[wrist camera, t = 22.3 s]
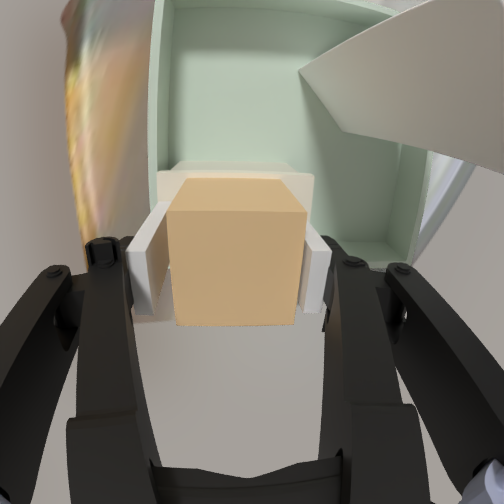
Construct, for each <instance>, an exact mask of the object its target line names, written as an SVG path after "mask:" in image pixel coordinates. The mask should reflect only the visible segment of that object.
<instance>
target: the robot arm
mask: <svg viewBox="0 0 504 504" xmlns="http://www.w3.org/2000/svg"><path fill="white" fill-rule="evenodd" d="M171 202H172V201H159V202H158V203H157V204H156V206H155V207H154V209H153V210H152V212H151V213H150V214H149V216H148V217H147V219H146V220H145V222H144V223H143V225H142V226H141V228H140V229H139V231H138V232H137V234H136V235H135V236H126V237H124V238H122V239H121V240H118V239H117V238H115V237H101V238H96V239H94V240H91V241H89V242H88V243H87V244H86V245H85V249H86V255H87V260H88V265H89V268H88V273H84V274H79V275H73V276H71V272H70V269H69V267H68V266H66V265H53V266H49V267H48V268H47V269H45V270H43V271H42V272H41V273H40V274H39V275H38V277H37V278H36V279H35V280H34V281H33V283H32V284H31V285H30V286H29V288H28V289H27V290H26V292H25V293H24V294H23V295H22V297H21V298H20V299H19V301H18V302H17V303H16V305H15V306H14V307H13V309H12V310H11V312H10V313H9V314H8V316H7V317H6V319H5V320H4V322H3V323H2V324H1V325H0V504H30V503H31V500H32V496H33V492H34V489H35V485H36V480H37V476H38V471H39V467H40V463H41V459H42V455H43V451H44V447H45V443H46V439H47V436H48V432H49V428H50V425H51V422H52V419H53V415H54V412H55V409H56V406H57V403H58V400H59V397H60V394H61V391H62V388H63V385H64V382H65V380H66V376H67V374H68V371H69V368H70V366H71V363H72V360H73V358H74V355H75V353H76V350H77V348H78V362H77V385H76V417H75V418H69V419H68V421H67V425H66V448H67V467H68V480H69V490H70V498H71V504H435V503H433V502H431V501H430V492H429V482H428V474H427V466H426V459H425V452H424V445H423V440H422V433H421V428H420V422H419V417H418V413H417V410H418V412H419V414H420V416H421V418H422V420H423V422H424V424H425V426H426V429H427V431H428V433H429V435H430V437H431V439H432V442H433V444H434V446H435V448H436V451H437V453H438V455H439V457H440V460H441V462H442V464H443V466H444V468H445V470H446V472H447V474H448V477H449V478H450V480H451V481H452V483H453V485H454V486H455V488H456V489H457V491H458V492H459V493H460V494H461V496H462V500H461V501H460V502H459V503H458V504H504V370H503V369H502V368H501V366H500V365H499V364H498V363H497V361H496V360H495V359H494V357H493V356H492V355H491V354H490V353H489V351H488V350H487V349H486V347H485V346H484V345H483V344H482V343H481V341H480V340H479V339H478V338H477V336H476V335H475V334H474V333H473V332H472V331H471V329H470V328H469V327H468V326H467V325H466V323H465V322H464V321H463V320H462V319H461V318H460V317H459V315H458V314H457V313H456V312H455V311H454V310H453V309H452V307H451V306H450V305H449V304H448V303H447V302H446V301H445V300H444V299H443V298H442V297H441V295H440V294H439V293H438V292H437V291H436V290H435V289H434V288H433V287H432V286H431V285H430V284H429V283H428V282H427V281H426V280H425V278H423V277H422V275H421V274H419V273H418V271H417V270H416V269H414V268H413V267H411V266H409V265H408V264H406V263H402V262H399V263H398V262H393V263H390V264H388V266H387V270H386V273H383V272H376V271H370V268H369V265H368V263H367V262H366V261H364V260H363V259H361V258H358V257H355V256H348V254H347V253H346V252H345V251H344V250H343V249H342V247H341V246H340V245H339V244H338V243H337V242H336V240H335V239H333V238H331V237H329V236H327V235H319V234H318V233H317V231H316V230H315V229H314V228H313V226H312V225H311V224H310V223H309V221H308V220H307V223H306V232H305V241H304V250H303V258H302V266H301V274H300V282H299V290H298V297H297V300H298V302H299V304H300V307H301V309H302V312H303V313H321V310H322V305H323V300H324V302H325V304H326V306H327V309H326V314H325V319H324V324H323V328H322V332H325V348H324V379H323V380H324V381H323V400H322V417H321V431H320V444H319V454H318V460H315V461H309V462H302V463H297V464H294V465H291V466H288V467H285V468H282V469H280V470H276V471H273V472H270V473H267V474H264V475H261V476H257V477H254V478H241V477H235V476H230V475H224V474H219V473H214V472H210V471H205V470H201V469H189V468H188V469H187V468H170V467H162V464H161V461H160V457H159V453H158V450H157V446H156V442H155V438H154V434H153V430H152V426H151V422H150V417H149V413H148V408H147V404H146V399H145V394H144V389H143V384H142V378H141V373H140V367H139V361H138V355H137V348H136V341H135V334H134V327H133V319H132V314H131V308H132V305H133V304H134V309H135V314H136V315H154V313H155V310H156V306H157V303H158V299H159V296H160V292H161V289H162V285H163V282H164V279H165V275H166V272H167V269H168V266H169V262H170V260H169V247H168V233H167V217H166V211H167V209H168V207H169V206H170V204H171ZM406 310H407V318H406V319H405V317H404V316H405V313H406ZM78 345H79V347H78ZM395 366H396V368H397V370H398V372H399V374H400V376H401V378H402V380H403V382H404V384H405V386H406V387H407V390H408V391H409V393H410V396H411V397H412V399H413V402H414V404H415V405H416V407H417V410H416V407H415V406H414V405H412V404H403V402H402V398H401V393H400V388H399V382H398V377H397V372H396V368H395Z"/></svg>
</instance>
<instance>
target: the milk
mask: <svg viewBox="0 0 504 504" xmlns="http://www.w3.org/2000/svg"><path fill="white" fill-rule="evenodd" d="M298 71H299V73H300V74H301V75H302V76H303V78H304V79H305V80H306V82H307V83H308V84H309V86H310V87H311V88H312V90H313V91H314V92H315V94H316V95H317V96H318V98H319V99H320V101H321V102H322V103H323V105H324V106H325V108H326V109H327V110H328V112H329V113H330V115H331V116H332V118H333V119H334V121H335V122H336V124H337V125H338V127H339V128H340V130H341V131H342V132H347V133H353V134H358V135H363V136H369V137H374V138H378V139H383V140H388V141H392V142H397V143H401V144H405V145H409V146H413V147H417V148H421V149H425V150H429V151H433V152H436V153H440V154H443V155H447V156H450V157H453V158H457V159H460V160H463V161H466V162H469V163H472V164H475V165H478V166H481V167H484V168H487V169H490V170H493V171H495V172H499V173H501V174H504V0H429V1H426V2H424V3H422V4H419V5H417V6H415V7H412V8H410V9H408V10H406V11H403V12H401V13H399V14H397V15H395V16H393V17H390V18H388V19H386V20H384V21H382V22H380V23H378V24H376V25H374V26H372V27H370V28H368V29H367V30H365V31H363V32H361V33H359V34H357V35H355V36H353V37H352V38H350V39H348V40H346V41H344V42H343V43H341V44H339V45H337V46H336V47H334V48H332V49H330V50H329V51H327V52H325V53H324V54H322V55H320V56H319V57H317V58H315V59H314V60H312V61H311V62H309V63H307V64H306V65H304V66H303V67H301V68H300V69H298Z"/></svg>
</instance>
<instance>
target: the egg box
mask: <svg viewBox="0 0 504 504" xmlns="http://www.w3.org/2000/svg"><path fill="white" fill-rule="evenodd" d="M156 175H157V200H158V202H159V201H173V199H174V198H175V196H176V194H177V193H178V191H179V190H180V188H181V186H182V185H183V183H184V182H185V180H186V179H187V178H265V179H281V181H282V182H283V183H284V184H285V185H286V187H287V188H288V189H289V190H290V191H291V193H292V194H293V195H294V196H295V198H296V199H297V200H298V201H299V202H300V204H301V205H302V206H303V207H304V209H305V210H306V211H307V212H308V213H307V220H308V221H309V223H310V217H311V207H312V198H313V188H314V178H315V176H314V175H312V174H311V173H298V172H297V171H296V170H295V169H293V168H292V167H291V166H290V165H288V164H287V163H280V162H256V161H180V162H179V163H177V164H176V165H175V166H174V167H173V168H172V169H171V170H166V171H159V172H157V173H156ZM169 266H170V262H169Z"/></svg>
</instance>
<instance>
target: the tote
mask: <svg viewBox="0 0 504 504" xmlns="http://www.w3.org/2000/svg"><path fill="white" fill-rule="evenodd" d="M399 13H401V12H399V11H396V10H393V9H390V8H387V7H384V6H381V5H378V4H374V3H371V2H367V1H364V0H155V7H154V16H153V26H152V37H151V49H150V65H149V86H148V174H149V196H150V213H151V212H152V210H153V209H154V207H155V206H156V204H157V203H158V200H157V175H156V173H157V172H159V171H166V170H171V169H172V168H173V167H174V166H175V165H176V164H177V163H179V162H180V161H256V162H280V163H287V164H288V165H290V166H291V167H292V168H293V169H295V170H296V171H297V172H298V173H311V174H312V175H314V176H315V178H314V188H313V198H312V207H311V217H310V224H311V225H312V226H313V228H314V229H315V230H316V231H317V233H318V234H319V235H327V236H329V237H331V238H333V239H335V240H336V242H337V243H338V244H339V245H340V246H341V247H342V249H343V250H344V251H345V252H346V253H347V254H348V256H355V257H358V258H361V259H363V260H364V261H366V262H367V263H368V265H369V268H387V266H388V264H390V263H393V262H398V263H399V262H402V263H406V264H408V265H409V266H411V263H412V259H413V255H414V252H415V248H416V244H417V239H418V235H419V231H420V226H421V222H422V217H423V212H424V207H425V202H426V197H427V191H428V185H429V179H430V173H431V166H432V159H433V151H429V150H425V149H421V148H417V147H413V146H409V145H405V144H401V143H397V142H392V141H388V140H383V139H378V138H374V137H369V136H363V135H358V134H353V133H347V132H342V131H341V130H340V128H339V127H338V125H337V124H336V122H335V121H334V119H333V118H332V116H331V115H330V113H329V112H328V110H327V109H326V108H325V106H324V105H323V103H322V102H321V101H320V99H319V98H318V96H317V95H316V94H315V92H314V91H313V90H312V88H311V87H310V86H309V84H308V83H307V82H306V80H305V79H304V78H303V76H302V75H301V74H300V73H299V71H298V69H300V68H301V67H303V66H304V65H306V64H307V63H309V62H311V61H312V60H314V59H315V58H317V57H319V56H320V55H322V54H324V53H325V52H327V51H329V50H330V49H332V48H334V47H336V46H337V45H339V44H341V43H343V42H344V41H346V40H348V39H350V38H352V37H353V36H355V35H357V34H359V33H361V32H363V31H365V30H367V29H368V28H370V27H372V26H374V25H376V24H378V23H380V22H382V21H384V20H386V19H388V18H390V17H393V16H395V15H397V14H399ZM168 269H170V266H168Z"/></svg>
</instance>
